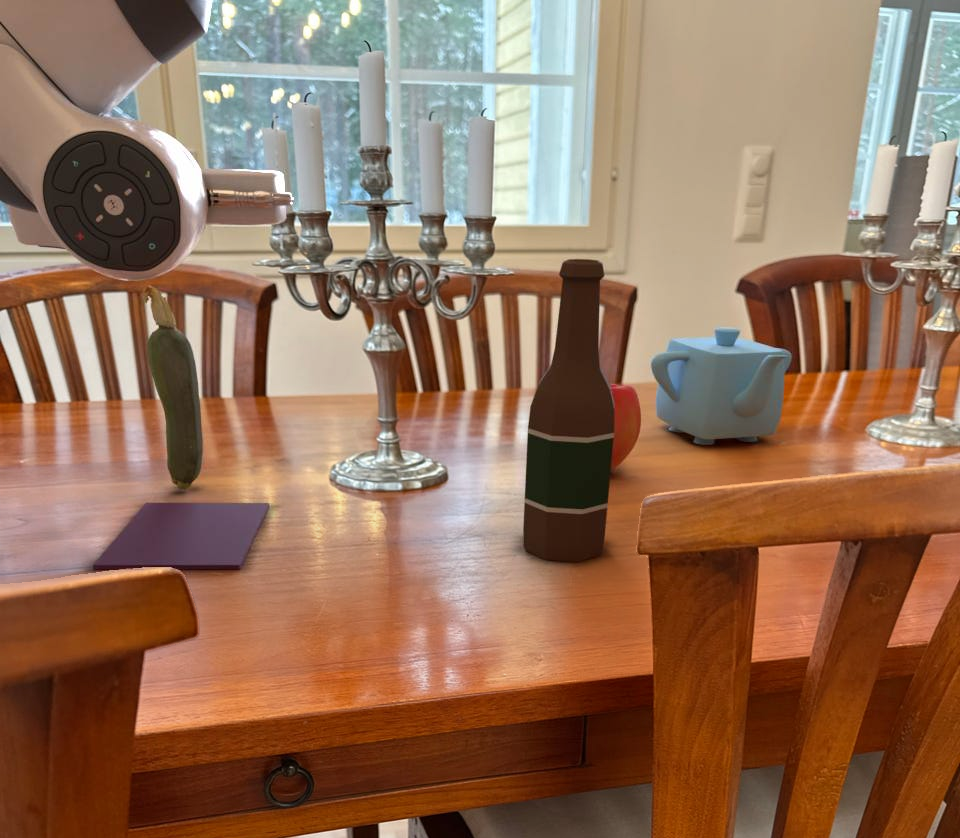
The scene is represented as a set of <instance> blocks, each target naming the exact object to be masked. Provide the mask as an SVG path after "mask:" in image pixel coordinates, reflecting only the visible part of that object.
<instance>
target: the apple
mask: <svg viewBox="0 0 960 838" xmlns="http://www.w3.org/2000/svg"><path fill="white" fill-rule="evenodd" d="M609 384H610V387H611V391H612V395H613V399H614V407H615V414H614V440H613V451H612V462H611V472H612V471H613V470H615V469H616V468H617V467H619V466H620V465H621V463H622V462H624V460H626V459H627V457H628V456H629V455H630V453H631V452H632V451H633V449H634V448H635V445H636V444H637V441H638V439H639V436H640V433H641V427H642V413H641V411H642V410H641V405H640V399H639V396H638V393H637V390H636V388H635V387H633V386H632V385H619V384H616V383H610V382H609Z"/></svg>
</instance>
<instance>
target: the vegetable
mask: <svg viewBox="0 0 960 838" xmlns="http://www.w3.org/2000/svg"><path fill="white" fill-rule="evenodd" d="M141 293H142V294H141V297H142V300H143V301H144V303H145V304H147V303H148V301H150V309H151V313H152V318H153V320H154V322H155V326H158V328H156V329H155V330H154V331H152V332H151V333H150V335H149V338H148V339H147V344H146V356H147V363H148V365H149V369H150V373H151V376H152V379H153V383H154V387H155V389H156V392H157V395H158V398H159V400H160V402H161V403H160V404H161V406H162V408H163V412H164V419H165V434H166V435H165V437H166V438H165V439H166V441H165V442H166V465H167V469H168V472H169V475H170V479H171V483H172V484H174V485H175V486H176V487H177V488H178V490H182V491H187V490H188V489H189V488H190V487H191V485H192V484H193V482H195V481H196V480H197V478H198V477H199V475H200V473H201V470H202V462H203V455H204V437H203V427H202V426H203V425H202V424H203V423H202V412H201V400H200V390H199V389H200V387H199V379H198V370H197V364H196V359H195V354H194V350H193V348H192V344H191V342H190V341H189V339H188V337H187V336H186V335H185V334H184V333H183V332H182V331H180V330H179V329H178V328H177V323H176V317H175V315H174V313H173V312H172V309H171V307H170V305H169V302H168V301H167V297H165V296H163V295H162V294H163V292H161V291H160V290H158V289H157V288H156V287H153V286H151V285H147V286H146V287H145V288H144V289H143V290H142V292H141Z"/></svg>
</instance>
